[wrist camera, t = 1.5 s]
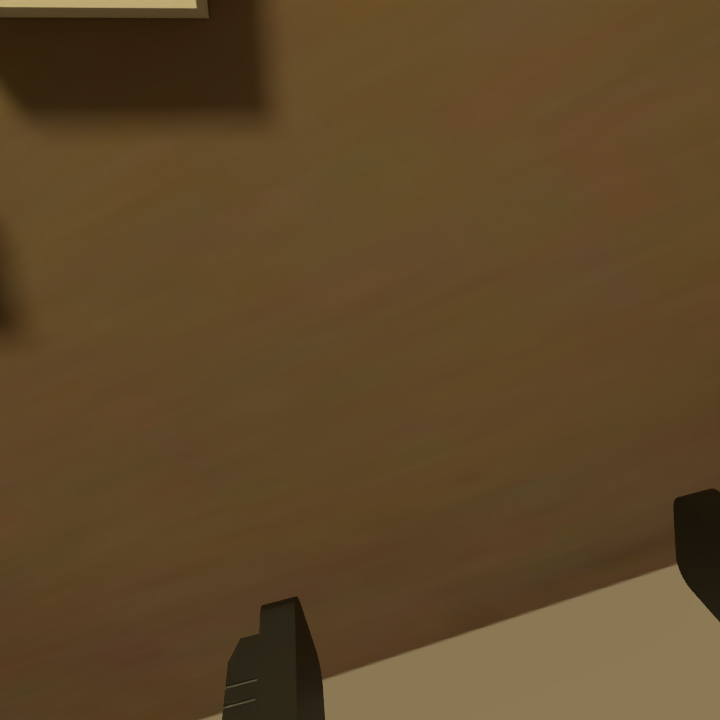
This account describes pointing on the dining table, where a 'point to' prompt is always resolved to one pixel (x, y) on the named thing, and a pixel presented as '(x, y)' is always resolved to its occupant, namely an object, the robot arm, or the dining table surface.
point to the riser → (105, 8)
